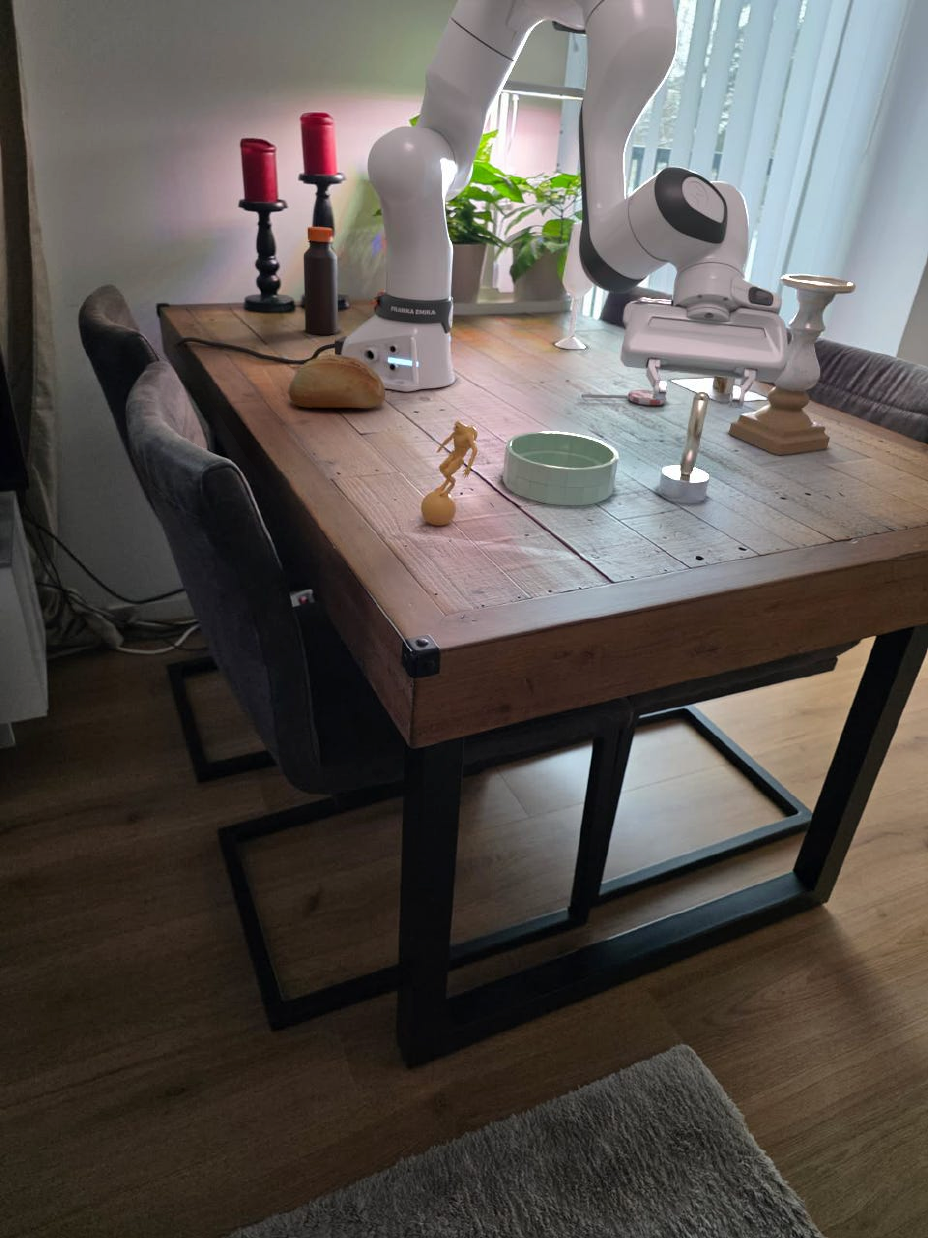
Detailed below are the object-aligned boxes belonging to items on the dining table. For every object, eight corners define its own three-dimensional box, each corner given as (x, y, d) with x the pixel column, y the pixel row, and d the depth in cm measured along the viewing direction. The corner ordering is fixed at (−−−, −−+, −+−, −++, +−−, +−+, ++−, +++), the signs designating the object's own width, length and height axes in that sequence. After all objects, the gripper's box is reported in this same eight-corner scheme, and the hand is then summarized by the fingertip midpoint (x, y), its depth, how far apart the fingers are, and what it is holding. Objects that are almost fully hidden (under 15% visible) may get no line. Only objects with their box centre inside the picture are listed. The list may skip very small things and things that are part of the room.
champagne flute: (590, 345, 185) (607, 224, 173) (577, 350, 180) (593, 226, 168) (563, 340, 188) (577, 221, 176) (549, 345, 183) (563, 222, 171)
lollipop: (577, 387, 150) (658, 389, 152) (576, 393, 150) (657, 395, 153) (587, 398, 144) (671, 400, 146) (586, 404, 145) (670, 406, 147)
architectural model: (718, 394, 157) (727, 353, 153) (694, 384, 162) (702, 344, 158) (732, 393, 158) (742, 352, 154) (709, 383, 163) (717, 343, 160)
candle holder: (777, 455, 128) (821, 287, 116) (726, 433, 136) (763, 273, 124) (828, 448, 132) (876, 286, 121) (776, 427, 141) (816, 273, 129)
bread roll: (386, 418, 131) (387, 365, 127) (287, 415, 129) (285, 362, 125) (383, 400, 139) (384, 350, 135) (290, 397, 137) (288, 346, 133)
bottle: (335, 336, 177) (334, 231, 167) (302, 334, 177) (299, 228, 167) (340, 329, 183) (339, 227, 173) (308, 327, 183) (305, 225, 172)
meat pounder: (658, 501, 109) (679, 395, 102) (656, 484, 114) (676, 382, 107) (706, 506, 108) (730, 400, 101) (702, 489, 113) (724, 387, 106)
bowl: (496, 500, 105) (500, 461, 103) (508, 462, 118) (512, 426, 115) (611, 513, 104) (618, 475, 102) (612, 473, 116) (617, 438, 114)
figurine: (409, 511, 100) (413, 411, 94) (456, 507, 103) (463, 408, 97) (434, 541, 94) (440, 435, 88) (484, 535, 96) (493, 431, 90)
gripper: (628, 280, 107) (616, 378, 103) (795, 297, 105) (788, 397, 101) (622, 311, 113) (610, 404, 109) (780, 327, 111) (772, 423, 107)
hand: (697, 401), depth 105 cm, fingers open, 8 cm apart
